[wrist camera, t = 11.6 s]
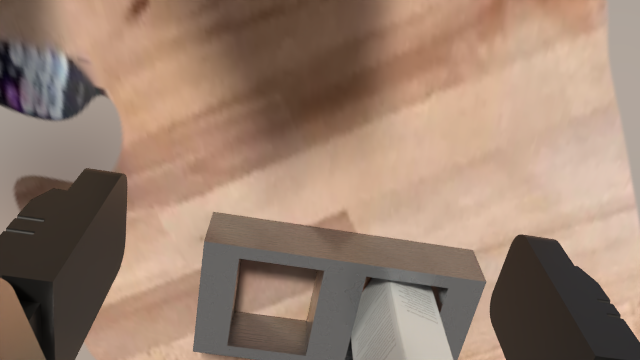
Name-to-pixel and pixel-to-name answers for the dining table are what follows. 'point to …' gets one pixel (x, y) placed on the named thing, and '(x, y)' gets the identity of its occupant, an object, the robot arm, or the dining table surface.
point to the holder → (321, 287)
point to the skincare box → (398, 323)
